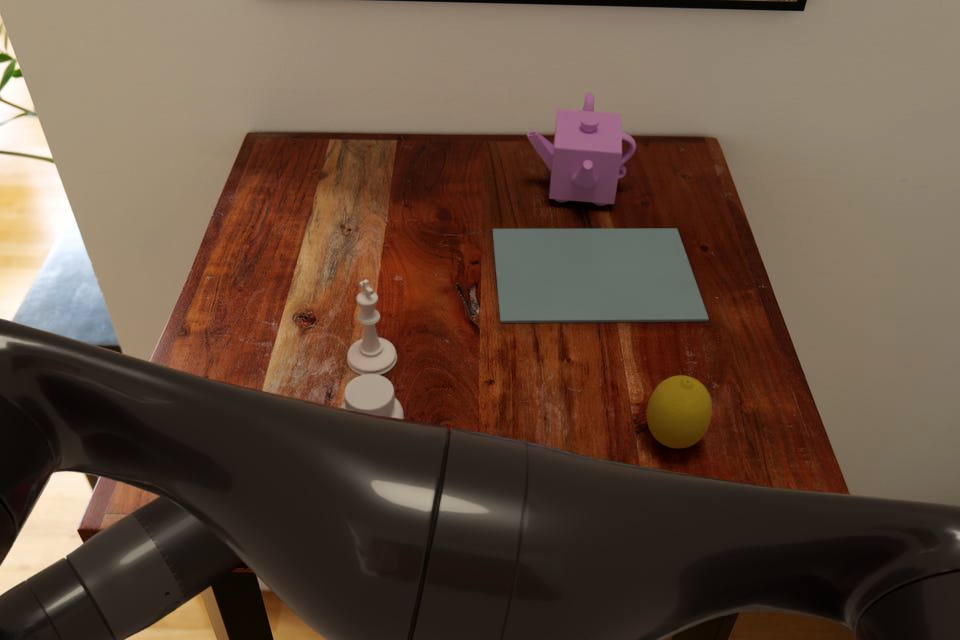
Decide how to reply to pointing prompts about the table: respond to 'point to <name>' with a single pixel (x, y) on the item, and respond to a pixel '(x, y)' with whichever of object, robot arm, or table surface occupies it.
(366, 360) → the chess piece
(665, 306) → the cloth mat
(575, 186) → the teapot
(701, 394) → the lemon
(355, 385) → the pill bottle
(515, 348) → the table surface
